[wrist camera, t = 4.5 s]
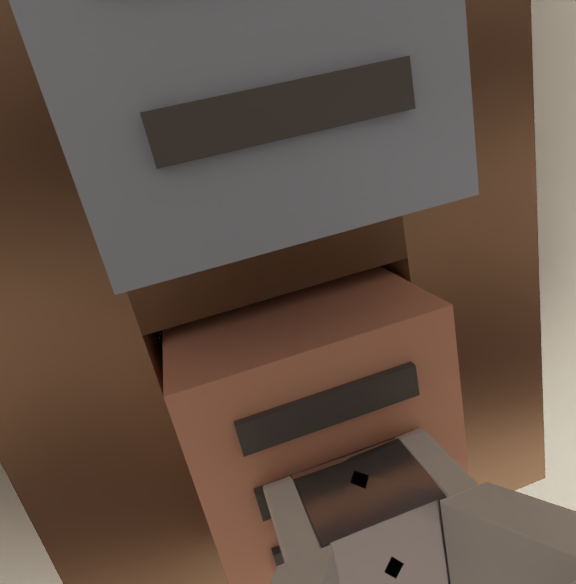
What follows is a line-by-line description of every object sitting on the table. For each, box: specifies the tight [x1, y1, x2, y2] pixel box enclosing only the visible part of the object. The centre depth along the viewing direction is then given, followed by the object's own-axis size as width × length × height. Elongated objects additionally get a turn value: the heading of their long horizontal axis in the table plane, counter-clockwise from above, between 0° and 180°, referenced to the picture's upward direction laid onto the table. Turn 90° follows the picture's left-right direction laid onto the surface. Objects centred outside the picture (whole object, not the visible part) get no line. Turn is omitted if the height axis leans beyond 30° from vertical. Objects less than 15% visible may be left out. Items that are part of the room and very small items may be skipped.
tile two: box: [9, 0, 479, 295], centre depth 7 cm, size 5×5×4 cm
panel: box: [0, 0, 545, 584], centre depth 9 cm, size 23×12×2 cm, turn 13°
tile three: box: [162, 266, 470, 584], centre depth 10 cm, size 5×5×4 cm
